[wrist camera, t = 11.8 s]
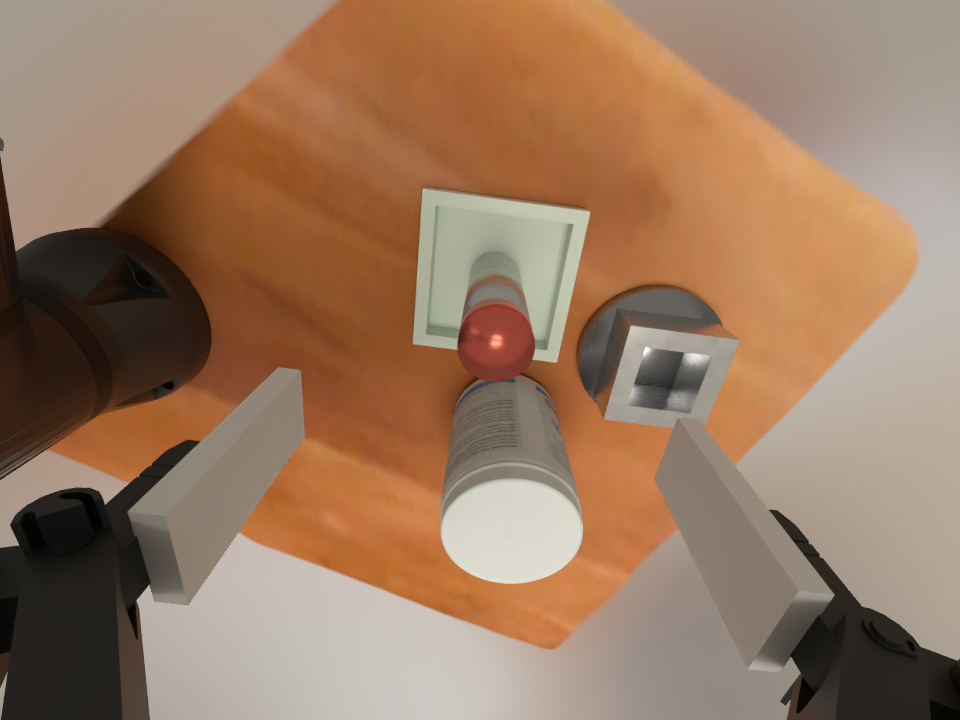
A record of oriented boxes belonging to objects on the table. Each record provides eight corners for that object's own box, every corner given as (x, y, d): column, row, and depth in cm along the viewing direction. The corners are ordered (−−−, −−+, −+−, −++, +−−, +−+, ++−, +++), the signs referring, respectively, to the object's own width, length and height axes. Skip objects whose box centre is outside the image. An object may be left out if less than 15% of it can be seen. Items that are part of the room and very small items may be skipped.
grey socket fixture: (564, 402, 40) (573, 436, 35) (594, 275, 35) (610, 295, 30) (691, 418, 40) (717, 455, 35) (739, 295, 35) (779, 317, 30)
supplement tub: (445, 441, 43) (420, 570, 29) (468, 357, 39) (452, 462, 25) (539, 463, 43) (557, 599, 30) (571, 383, 39) (608, 498, 26)
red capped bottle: (467, 297, 35) (453, 377, 23) (472, 248, 34) (461, 305, 21) (515, 303, 36) (528, 385, 23) (523, 254, 34) (541, 315, 21)
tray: (418, 333, 38) (412, 344, 35) (427, 186, 33) (422, 188, 30) (553, 350, 38) (556, 362, 36) (584, 208, 33) (590, 211, 31)
